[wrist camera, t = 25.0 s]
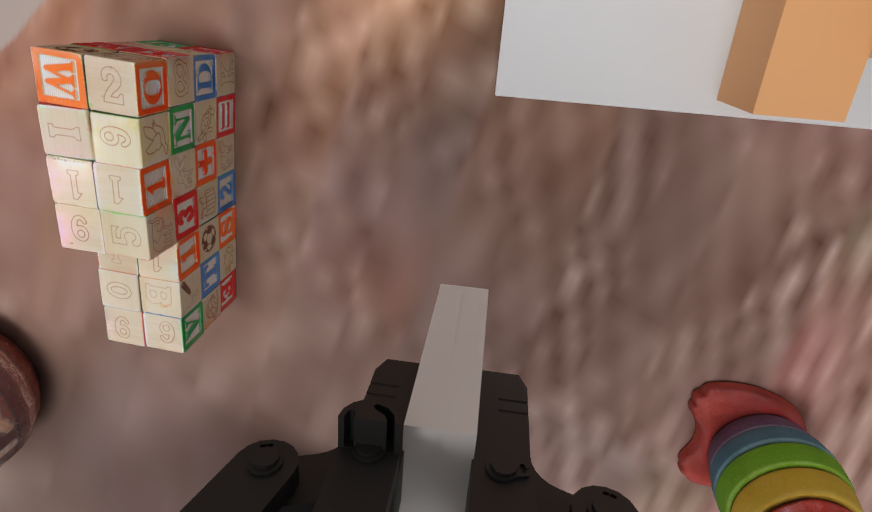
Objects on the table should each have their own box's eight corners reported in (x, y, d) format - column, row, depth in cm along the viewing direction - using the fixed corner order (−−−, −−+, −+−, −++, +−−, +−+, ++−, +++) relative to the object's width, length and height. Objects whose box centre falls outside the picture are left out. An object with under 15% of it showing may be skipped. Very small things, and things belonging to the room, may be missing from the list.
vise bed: (935, 132, 37) (1031, 157, 31) (495, 92, 40) (492, 108, 33) (1042, -111, 32) (1188, -147, 25) (521, -139, 34) (523, -179, 27)
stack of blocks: (239, 298, 50) (160, 379, 39) (173, 286, 50) (76, 363, 39) (235, 49, 41) (132, 61, 30) (156, 37, 42) (25, 43, 30)
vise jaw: (794, 106, 36) (844, 122, 31) (716, 100, 37) (752, 114, 31) (864, -107, 32) (938, -133, 26) (773, -112, 32) (827, -139, 27)
